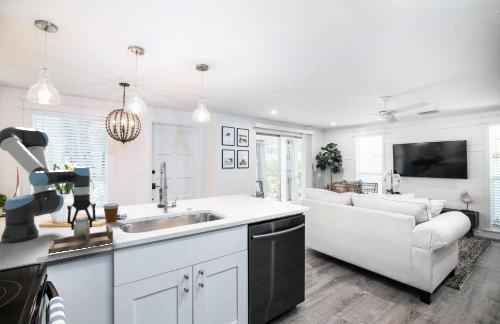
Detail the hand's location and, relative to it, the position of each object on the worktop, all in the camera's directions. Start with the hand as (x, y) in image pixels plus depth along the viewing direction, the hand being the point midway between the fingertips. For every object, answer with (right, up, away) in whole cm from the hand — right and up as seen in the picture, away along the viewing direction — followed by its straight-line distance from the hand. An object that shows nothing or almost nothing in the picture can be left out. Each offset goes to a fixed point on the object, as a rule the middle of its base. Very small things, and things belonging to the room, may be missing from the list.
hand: (81, 234), depth 139 cm
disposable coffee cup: (-1, -1, +31) cm, 31 cm away
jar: (0, -1, 0) cm, 1 cm away
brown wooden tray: (+9, -2, -13) cm, 16 cm away
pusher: (+11, 0, -12) cm, 16 cm away
